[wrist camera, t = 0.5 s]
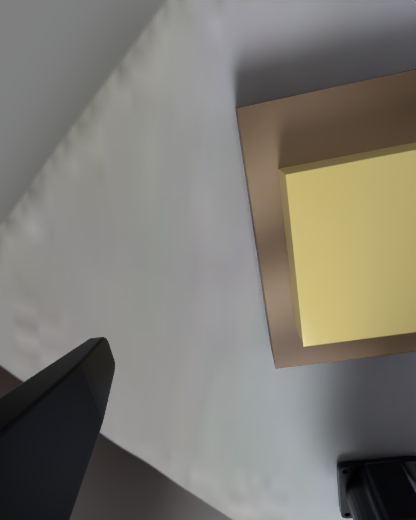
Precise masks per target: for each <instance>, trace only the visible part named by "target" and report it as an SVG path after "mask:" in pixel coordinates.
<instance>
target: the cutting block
mask: <svg viewBox="0 0 416 520" xmlns="http://www.w3.org/2000/svg"><path fill="white" fill-rule="evenodd" d="M236 116H237V122H238V129H239V136H240V142H241V149H242V156H243V163H244V169H245V176H246V183H247V189H248V196H249V203H250V209H251V216H252V223H253V229H254V236H255V243H256V250H257V256H258V263H259V270H260V276H261V283H262V290H263V296H264V303H265V310H266V316H267V323H268V330H269V336H270V343H271V349H272V354H273V359H274V363H275V368H276V369H277V368H285V367H293V366H301V365H309V364H317V363H325V362H333V361H342V360H350V359H358V358H366V357H374V356H382V355H390V354H398V353H406V352H414V351H416V332H412V333H405V334H397V335H390V336H382V337H374V338H367V339H359V340H351V341H344V342H336V343H328V344H321V345H313V346H305V347H303V344H302V341H301V339H300V336H299V333H298V330H297V328H296V325H295V316H294V307H293V298H292V289H291V280H290V271H289V262H288V253H287V244H286V235H285V226H284V217H283V208H282V199H281V190H280V181H279V172H278V169H280V168H285V167H290V166H296V165H301V164H306V163H311V162H316V161H321V160H327V159H332V158H337V157H342V156H347V155H352V154H358V153H363V152H368V151H373V150H378V149H383V148H389V147H394V146H399V145H404V144H409V143H414V142H416V69H414V70H410V71H405V72H401V73H396V74H391V75H387V76H382V77H378V78H373V79H368V80H364V81H359V82H355V83H350V84H345V85H341V86H336V87H332V88H327V89H322V90H318V91H313V92H309V93H304V94H300V95H295V96H290V97H286V98H281V99H277V100H272V101H267V102H263V103H258V104H254V105H249V106H244V107H240V108H237V109H236Z"/></svg>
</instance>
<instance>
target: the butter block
mask: <svg viewBox="0 0 416 520" xmlns="http://www.w3.org/2000/svg"><path fill="white" fill-rule="evenodd" d="M278 172H279V181H280V190H281V199H282V208H283V217H284V226H285V235H286V244H287V253H288V262H289V271H290V280H291V289H292V298H293V307H294V316H295V325H296V328H297V330H298V333H299V336H300V339H301V341H302V344H303V347H305V346H313V345H321V344H328V343H336V342H344V341H351V340H359V339H367V338H374V337H382V336H390V335H397V334H405V333H412V332H416V142H414V143H409V144H404V145H399V146H394V147H389V148H383V149H378V150H373V151H368V152H363V153H358V154H352V155H347V156H342V157H337V158H332V159H327V160H321V161H316V162H311V163H306V164H301V165H296V166H290V167H285V168H280V169H278Z"/></svg>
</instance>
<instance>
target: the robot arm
mask: <svg viewBox="0 0 416 520" xmlns="http://www.w3.org/2000/svg"><path fill="white" fill-rule="evenodd" d="M114 371H115V361H114V358H113V355H112V352H111V349H110V346H109V343H108V340H107V339H106V338H104V337H98V338H91V339H89V340H87V341H86V342H84V343H83V344H81V345H80V346H78V347H77V348H75V349H74V350H72V351H71V352H69V353H68V354H66V355H65V356H63V357H61V358H60V359H58V360H57V361H55V362H54V363H52V364H51V365H49V366H48V367H46V368H45V369H43V370H42V371H40V372H39V373H37V374H36V375H34V376H33V377H31V378H30V379H28V380H27V381H25V382H24V383H22V384H20V385H19V386H17V387H16V388H14V389H13V390H11V391H10V392H8V393H7V394H5V395H4V396H2V397H1V398H0V520H70V517H71V514H72V511H73V508H74V505H75V503H76V500H77V497H78V494H79V491H80V488H81V484H82V482H83V479H84V476H85V473H86V470H87V467H88V464H89V461H90V458H91V456H92V453H93V450H94V447H95V444H96V441H97V438H98V435H99V432H100V429H101V426H102V423H103V419H104V415H105V411H106V406H107V402H108V397H109V393H110V389H111V384H112V380H113V375H114ZM337 475H338V489H339V504H340V512H341V515H342V517H343V518H353V520H416V456H410V457H399V458H387V459H376V460H365V461H354V462H343V463H340V464H338V465H337Z"/></svg>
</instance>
